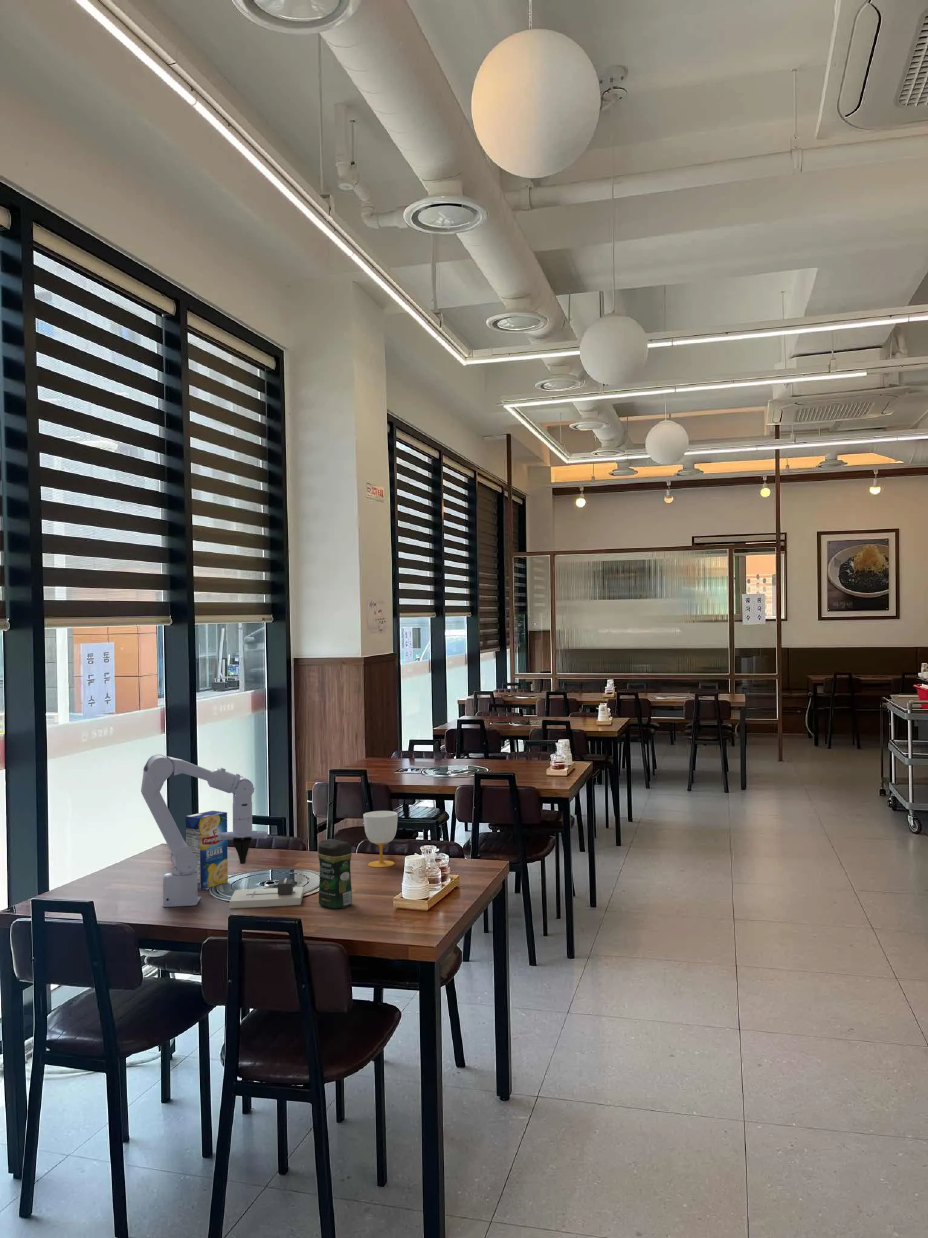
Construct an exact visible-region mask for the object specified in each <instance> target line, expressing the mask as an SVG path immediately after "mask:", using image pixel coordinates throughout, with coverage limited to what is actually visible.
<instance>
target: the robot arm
mask: <svg viewBox="0 0 928 1238" xmlns="http://www.w3.org/2000/svg"><path fill="white" fill-rule="evenodd" d="M226 770H227V769H226V768H223V767H220V768H215V769H212V770H209V769H207V768H204V767H201V766H199V765H198V764H197V765H196V764H194V763H191V762H189V761H186V760H184V759H180V758H175V757H172V756H168V755H167V757H166V756H165V755H163V754H158V753H157V754H156V753H155V754H153V755H151V756H150V757H149V758H148V759H147V761H146V763H145V765H144V767H143V770H142V771H143V773H142V782H141V788H140V792H141V795H142V797H143V800H145V803H146V805H147V808H148V809H149V811H150V813H151V815H152V817H153V819H154V820H155V823H156V825H157V827H158V829H159V832H161V835H162V837H163V839H164V841H165V843H166V845H167V848H168V850H169V852H170V861H171V863H172V865H173V868H172V869H171V872H166V873H164V874H163V875H164V876H163V880H162V903H163V904H162V907H163V908H169V907H171V908H172V907H189V906H190V907H191V906H192V907H193V906H197V905H198V903H199V902H200V900H201V899H202V896H201V895H199V894H198V889H197V869H196V867H197V865H198V858H197V856H196V855H195V854H194V853H193V852H192V851H191V849H190V848H188V846H187V844H186V840H184V837H183V836H182V833H181V832H180V830H179V828H178V825H177V823H176V822H175V819H174V818H173V815H172V814H171V812H170V809H169V807H168V806H167V803H166V802H165V799H164V798H163V797H164V796H163V795H162V793H161V790H162V788H163V785H164V784H165V782H166V781H167V779H168V778H170V777H171V775H173V776H177V775H181V774H184V775H187V776H191V777H194V778H197V779H200V780H203V781H206V782H207V784H208V786H209V788H213V789H216V790H218V791H222V792H224V793H227V794H232V831H227V832H224V833H218V840H227V841H228V840H233V841H232V845H233V846H234V848H235V850H236V853H237V855H238V858H239V864H240V865H244V864H247V863H246V862H247V856H248V852H249V849H250V846H251V844H252V841H253V839H264V840H265V839H267V838H268V830H253V802H252V801H253V800H252V798H253V796H252V795H253V794H254V792H255V787H254V784H253V782H252V781H251V780H249V779H248V778H246V777H244V776H242V775H241V774H239V773H236V774H234V773H231V772H229V771H226ZM198 895H199V896H198Z"/></svg>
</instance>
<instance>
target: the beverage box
mask: <svg viewBox="0 0 928 1238" xmlns="http://www.w3.org/2000/svg"><path fill="white" fill-rule="evenodd" d="M184 819H185V843H186V844H187V846H188V848H190V849H191V851H192V852H193V853H194V854H195V855H196V856H197V858H198V865H197V867H196V869H197V891H202V890H205V889H208V888H212V887H215V886H219V885H223V884H225V883H224V882H226V883H228V882H229V879H228V878H229V876H228V875H229V873H228V872H229V868H228V867H229V865H228V864H229V863H228V861H229V859H228V840H218V833H224V832H228V812H226V811H219V810H209V811H204V812H199V813H195V814H190V815H185V818H184ZM222 883H223V884H222Z"/></svg>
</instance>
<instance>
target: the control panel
mask: <svg viewBox="0 0 928 1238" xmlns="http://www.w3.org/2000/svg"><path fill="white" fill-rule="evenodd" d="M303 896H304V886H293V891H292V894H280V895H278V887H272V888H271V887H269V888H249V889H235V890H234V892H233V894H232V896H231V898H230V900H229V909H243V908H245V909H246V908H261V907H262V908H264V907H266V908H267V907H281V906H282V907H283V906H284V907H285V906H300V905H301V904H302V901H303Z"/></svg>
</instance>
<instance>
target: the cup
mask: <svg viewBox="0 0 928 1238" xmlns="http://www.w3.org/2000/svg"><path fill="white" fill-rule="evenodd" d="M398 815H399V814H398V812H396V811H391V810H375V811H369V812H365V813H363V816H362V818H363V826H364V832H365V835H366V838H367V839H368V841H369V842H370V843H372V844H374V845H376V846H378V848H379V858H378V859H379V860H374V861H369V863H367V865H368V867H370V868H377V869H378V868H379V869H380V868H388V867H389V868H390V867H392V866H395V862H394V861H392V860H384V858H383V856H384V854H383V851H384V850H383V849H384V848H383V847H384V845H387V844H389V843H390V842H392V841H393V840H394V838H395V836H396V833H397V831H398V819H399V818H398V817H399V816H398Z"/></svg>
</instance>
